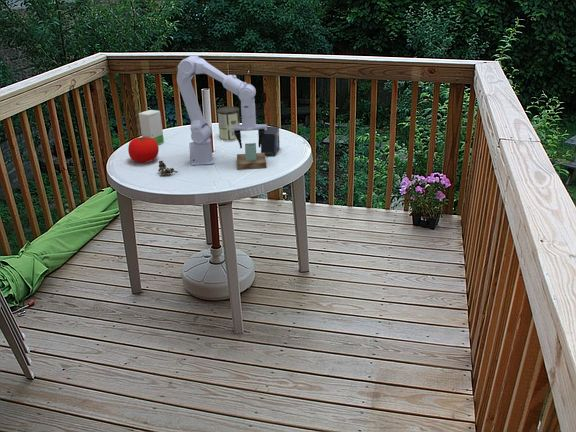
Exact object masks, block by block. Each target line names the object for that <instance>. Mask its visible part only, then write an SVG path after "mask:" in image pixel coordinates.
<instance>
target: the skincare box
mask: <svg viewBox="0 0 576 432" xmlns="http://www.w3.org/2000/svg"><path fill="white" fill-rule="evenodd" d="M161 115H162V114H161V111H160V110H156V109H155V110H154V109H148V110H145V111H142V112H139V113H138V119H139V125H140V133H141V137H149V138H153V139H155V140H156V142H157V144H158V146H160V145H162V144H164V143H165V141H164V140H165V139H164V131H163V125H162V116H161Z"/></svg>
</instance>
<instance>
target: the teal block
mask: <svg viewBox="0 0 576 432" xmlns="http://www.w3.org/2000/svg"><path fill="white" fill-rule="evenodd" d="M244 150H245V153H244V154H245V155H246V161H253V160H257V155H256V153H257V143H256V142H252V143H250V142H249V143H244Z"/></svg>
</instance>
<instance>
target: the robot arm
mask: <svg viewBox="0 0 576 432" xmlns="http://www.w3.org/2000/svg"><path fill="white" fill-rule="evenodd" d="M199 74H205V75H207V76H209V77H211V78H213V79H214V80H216V81H218V82H220V83H221V84H222V86H223V88H224V89H226V90H228V91H229V92H231V93H233V94H234V95H236V96H237V97H238V99H239V100H240V111H241V112H240V113H241V114H240V115H241V124H240V125H237V126H231V129H232V132H234V134H235V136H236V138H237V140H236V141H238V144H239V149H241V150H242V149H243V146H242V145H243V143H242V136H241V135H242V133H241V132H244V131H245V132H246V131H247V132H249V131H257V132H258V134H257V135H258V142H257V143H258V148H260V149H261V141H262V138H263V135H264V133H265V131H264V130H267V126H268V125H267V123H266V124H264V123H263V124H260V123H259V124H258V123H257V115H256V103H255V101H256V100H255V96H256V95H257V94H256V93H257V91H256V90H257V89H256V87H255V86H254V85H253V84H251V83H247V82H246V81H242V80H240V79H239V78H237V75H235V74H227V75H226V74H225V73H223V72H222V71H221V70H219V69H218V68H216V67H215V66H213V65H212V64H210V63H209V62H207V61H206V60H205V59H204V58H202V57H200V56H198V55H196V54H190V55H189V56H188V57H186V58H183V59H182V60H180V62H179V64H178V65H177V75H176V82H177V85H178V89H179V92H180V95H181V97H182V100H183V103H184V106H185V108H186V111H187V114H188V117H189V119H190V126H189V127H190V131H191V134H190V137H191V142H189V146H188V147H189V159H190V165H191V166H201V165H214V164H215V163H214V162H215V157H214V156H213V148H212V147H213V146H212V139H211V136H212V134H213V128H212V127H211V125H210V124H209V122H208V121H207V119H205V118H204V116H203V113H202V110H201V106H200V104H199V102H198V99H197V96H196V91H195V90H194V87H193V83H192V79H193V77H194V76H195V75H199Z"/></svg>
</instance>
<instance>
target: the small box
mask: <svg viewBox="0 0 576 432" xmlns="http://www.w3.org/2000/svg"><path fill="white" fill-rule="evenodd" d="M264 131H265V133H264V135H263V138H262V141H261V146H260V153H265V157H275V156H277V155H276V154H277V153H278V152H279V150H280V148H281V147H280V127H279V126H268V125H267V130H264Z"/></svg>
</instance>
